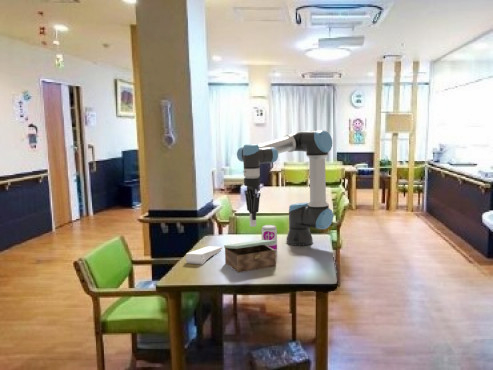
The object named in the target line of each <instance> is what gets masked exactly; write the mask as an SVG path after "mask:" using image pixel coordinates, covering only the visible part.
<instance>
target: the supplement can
mask: <svg viewBox="0 0 493 370" xmlns="http://www.w3.org/2000/svg"><path fill="white" fill-rule="evenodd" d="M261 240H276V243H272V244H265V245H267V246H269V247H271V248H273V249H275V250H276V254H278V229H277V227H276V225H274V224H265V225H264V224H263V225H262V227H261Z"/></svg>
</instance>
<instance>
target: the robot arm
mask: <svg viewBox="0 0 493 370" xmlns="http://www.w3.org/2000/svg"><path fill="white" fill-rule="evenodd" d="M332 147H333V138H332V136H331V134H330V133H329V132H328V131H326V130H321V129H315V130H312V129H311V130H299V131H297V132H293V133H289V134H286V135H285V136H283V138H282V137H281V138H278V139H274V140H270V141H267V142H263V143H257V144H256V143H255V144H254V143H252V144H251V143H250V144H244V145H243V147H239V148H238V149H237V151H236V158H237V159H238V161H240V162H243V170H242V173H243V177H244V178H243V186H244V187H246V190H244V192H243V193H244V195H245V204H246V211H248V213H249V227H251V228H252V227H253V228H254V227H257V213H259V209H260V198H261V192H258V191H259V190H258V186H260V185H261V178H260V176H261V174H260V173H261V172H260V171H261V170H260V165H261V164H272V163H275V162H276V161H278V159H279V154H282V153H286V152H288V153H292V152H305V153H306V154H305V155H306V157H307V158H308V159H309V162H308V163H309V165H308V166H309V202H298V203H297V202H296V203H292V204H290V205H289V207H288V220H289V221H288V223H289V225H288V227H289V230H288V231H287V232H288V233H287V235H286V244H287V245H290V246H302V247H303V246H308V245H311V244H313V236H312V233H311V230H310V228H312V229H317V230H327V229H328V228H329V227H330V226H331V225H332V223H333V220H334V212H333V210H332V209H331V208H330V204H329V203H328V202H327V201H326V200H327V193H326V191H327V190H326V189H327V188H326V187H327V185H326V184H327V183H326V181H327V180H326V179H327V177H326V158H327V157H328V156H329V152H331V150H332Z"/></svg>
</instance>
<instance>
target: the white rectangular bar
mask: <svg viewBox="0 0 493 370" xmlns="http://www.w3.org/2000/svg"><path fill="white" fill-rule="evenodd" d="M222 249H223V247H222V246H210V245H208V246H204V247H201V248H199V249H195V250H191V251H189V252H187V253H185V254H186V257H185V262H186V263H187V264H190V265H191V264H194V265H203V264H205V262H207V260H208V259H210V258H211V257H212V256H214V255H216V254H218V253H220V252H221V250H222Z"/></svg>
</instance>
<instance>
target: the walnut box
mask: <svg viewBox="0 0 493 370" xmlns="http://www.w3.org/2000/svg"><path fill="white" fill-rule="evenodd" d="M224 255H225V256H224V257H225V258H224V261H225V262H224V263H225V265H227V266H228V267H229V268H231V269H232V270H234V271H235V272H236V273H238V274H240V273H243V272H248V271H255V270H256V271H257V270H261V269H267V268H273V267H277V256H276V255H277V253H276V250H275V249H273V248H271V247H269V246H267V245H258V246H252V247H245V248H238V249H234V248H224Z"/></svg>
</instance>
